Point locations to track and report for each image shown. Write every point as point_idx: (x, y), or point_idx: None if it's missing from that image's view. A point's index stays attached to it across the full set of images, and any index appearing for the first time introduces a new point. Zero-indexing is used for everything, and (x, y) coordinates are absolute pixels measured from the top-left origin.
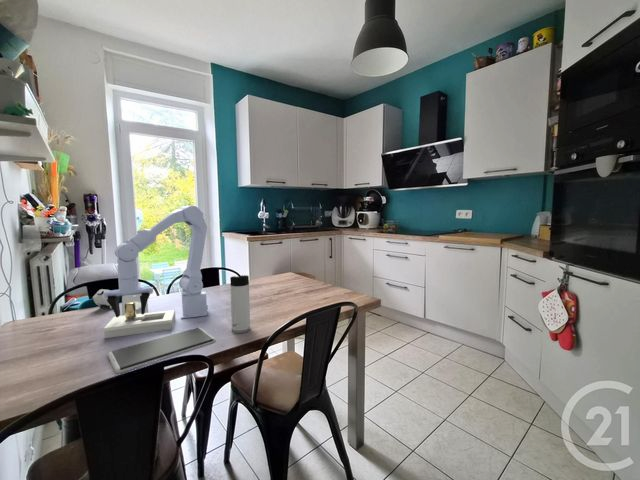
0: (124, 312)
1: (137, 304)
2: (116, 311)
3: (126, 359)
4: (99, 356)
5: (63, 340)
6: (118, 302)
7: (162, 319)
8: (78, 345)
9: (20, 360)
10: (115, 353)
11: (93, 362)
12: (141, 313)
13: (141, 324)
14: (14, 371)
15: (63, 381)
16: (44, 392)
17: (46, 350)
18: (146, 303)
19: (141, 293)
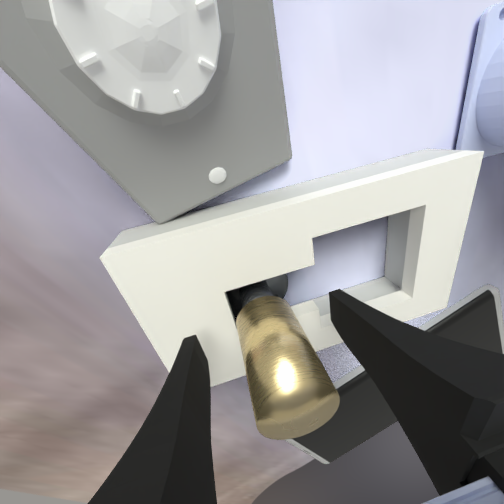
0: (100, 143)
1: (168, 3)
2: (206, 410)
3: (332, 446)
4: (251, 428)
5: (2, 379)
6: (187, 446)
7: (411, 304)
8: (128, 399)
9: (27, 474)
10: (298, 437)
11: (254, 443)
12: (335, 327)
13: (328, 342)
14: (88, 494)
15: (240, 483)
16: (231, 499)
17: (37, 433)
18: (398, 322)
19: (484, 496)
